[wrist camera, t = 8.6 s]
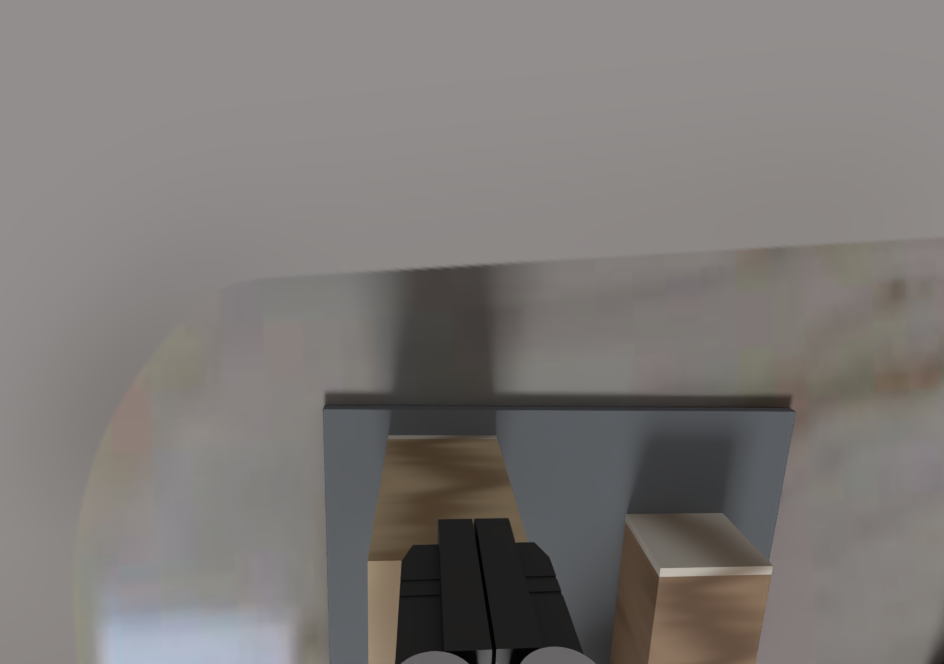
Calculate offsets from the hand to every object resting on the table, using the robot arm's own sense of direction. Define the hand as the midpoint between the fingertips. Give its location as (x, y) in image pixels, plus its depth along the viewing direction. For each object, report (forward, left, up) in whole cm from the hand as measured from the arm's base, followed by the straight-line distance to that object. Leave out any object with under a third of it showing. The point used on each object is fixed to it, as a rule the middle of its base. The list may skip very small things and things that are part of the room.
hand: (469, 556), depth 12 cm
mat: (-7, +13, -19) cm, 24 cm away
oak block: (0, +8, -18) cm, 20 cm away
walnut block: (-14, +10, -16) cm, 24 cm away
